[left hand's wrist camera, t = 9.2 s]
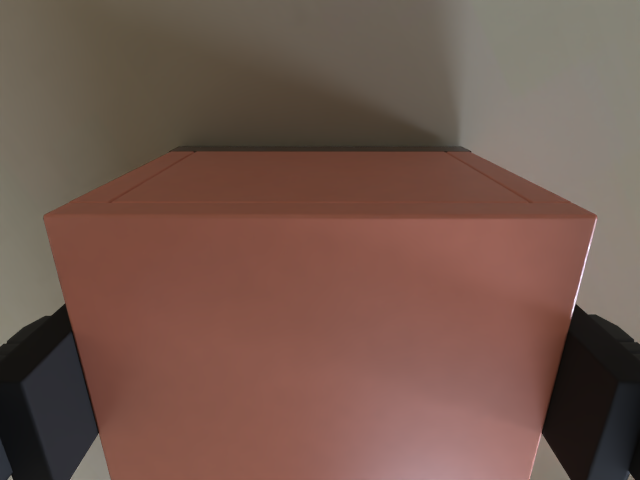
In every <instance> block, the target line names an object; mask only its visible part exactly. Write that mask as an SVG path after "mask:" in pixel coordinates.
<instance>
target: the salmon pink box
mask: <svg viewBox="0 0 640 480" xmlns="http://www.w3.org/2000/svg"><path fill="white" fill-rule="evenodd" d="M43 219H44V223H45V227H46V230H47V234H48V238H49V242H50V246H51V250H52V254H53V257H54V261H55V265H56V269H57V273H58V277H59V281H60V285H61V288H62V292H63V296H64V300H65V304H66V308H67V312H68V315H69V319H70V323H71V327H72V331H73V335H74V339H75V343H76V346H77V350H78V354H79V358H80V362H81V366H82V370H83V373H84V377H85V381H86V385H87V389H88V393H89V397H90V400H91V404H92V408H93V412H94V416H95V420H96V424H97V428H98V431H99V435H100V439H101V443H102V447H103V451H104V455H105V458H106V462H107V466H108V470H109V474H110V478H111V480H530V476H531V472H532V468H533V464H534V460H535V457H536V453H537V449H538V445H539V441H540V437H541V434H542V430H543V426H544V422H545V418H546V414H547V410H548V407H549V403H550V399H551V395H552V391H553V387H554V384H555V380H556V376H557V372H558V368H559V364H560V361H561V357H562V353H563V349H564V345H565V341H566V337H567V334H568V330H569V326H570V322H571V318H572V314H573V311H574V307H575V303H576V299H577V295H578V291H579V288H580V284H581V280H582V276H583V272H584V268H585V264H586V261H587V257H588V253H589V249H590V245H591V241H592V238H593V234H594V230H595V226H596V222H597V215H595V214H593V213H591V212H589V211H587V210H585V209H583V208H581V207H579V206H577V205H575V204H573V203H571V202H570V201H568V200H566V199H564V198H562V197H560V196H558V195H556V194H554V193H552V192H550V191H548V190H546V189H544V188H542V187H540V186H538V185H536V184H534V183H532V182H530V181H528V180H526V179H523V178H521V177H519V176H517V175H515V174H513V173H511V172H509V171H507V170H505V169H503V168H501V167H499V166H497V165H495V164H493V163H491V162H489V161H487V160H485V159H483V158H481V157H479V156H477V155H475V154H473V153H471V151H469V150H467V149H465V148H463V147H177V148H175V149H173V150H171V151H169V153H167V154H165V155H163V156H161V157H159V158H157V159H155V160H153V161H151V162H149V163H147V164H145V165H143V166H141V167H139V168H137V169H135V170H133V171H131V172H129V173H127V174H125V175H123V176H121V177H119V178H117V179H115V180H113V181H111V182H109V183H107V184H105V185H102V186H100V187H98V188H96V189H94V190H92V191H90V192H88V193H86V194H84V195H82V196H80V197H78V198H76V199H74V200H72V201H70V202H69V203H67V204H65V205H63V206H61V207H59V208H57V209H55V210H53V211H51V212H49V213H47V214H45V215H44V218H43Z"/></svg>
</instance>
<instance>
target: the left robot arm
mask: <svg viewBox="0 0 640 480" xmlns="http://www.w3.org/2000/svg"><path fill="white" fill-rule="evenodd" d="M98 433H99V431H98V428H97V424H96V420H95V416H94V412H93V408H92V404H91V400H90V397H89V393H88V389H87V385H86V381H85V377H84V373H83V370H82V366H81V362H80V358H79V354H78V350H77V346H76V343H75V339H74V335H73V331H72V327H71V323H70V319H69V315H68V312H67V308H66V304H64V305H63V306H62V307H61V308H60V309H58V310H57V311H56V312H55V313H54V314H53V315H52V316H44V317H42V318H40V319H39V320H37V321H35V322H33V323H31V324H29V325H27V326H25V327H23V328H22V329H21V330H20V331H19V332H17V333H16V334H15V335H14V336H13V337H11V338H10V339H9V340H8V341H7V344H3V345H2V346H1V347H0V480H7V479H8V478H9V477H10V475H12V478H13V480H70V478H71V477H72V475H73V473H74V472H75V470H76V469H77V467H78V465H79V464H80V462H81V461H82V459H83V457H84V456H85V454H86V453H87V451H88V449H89V448H90V446H91V445H92V443H93V441H94V440H95V438H96V437H97V435H98ZM542 434H543V436H544V438H545V439H546V441H547V442H548V444H549V446H550V447H551V449H552V450H553V452H554V454H555V455H556V457H557V458H558V460H559V462H560V463H561V465H562V466H563V468H564V470H565V471H566V473H567V474H568V476H569V478H570V479H571V480H627V479H628V477H629V474H631V475H632V476H633V478H634V479H635V480H640V344H639V343H637V342H634V339H633V338H631V337H630V336H629V335H628V334H627V333H625V332H624V331H623V330H622V329H621V328H619V327H618V326H617V325H615V324H613V323H611V322H609V321H607V320H605V319H603V318H601V317H599V316H597V315H588V314H587V313H585V312H584V311H583V310H582V309H581V308H580V307H579V306H577V305H576V304H575V307H574V311H573V314H572V318H571V322H570V326H569V330H568V334H567V337H566V341H565V345H564V349H563V353H562V357H561V361H560V364H559V368H558V372H557V376H556V380H555V384H554V387H553V391H552V395H551V399H550V403H549V407H548V410H547V414H546V418H545V422H544V426H543V430H542Z"/></svg>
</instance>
